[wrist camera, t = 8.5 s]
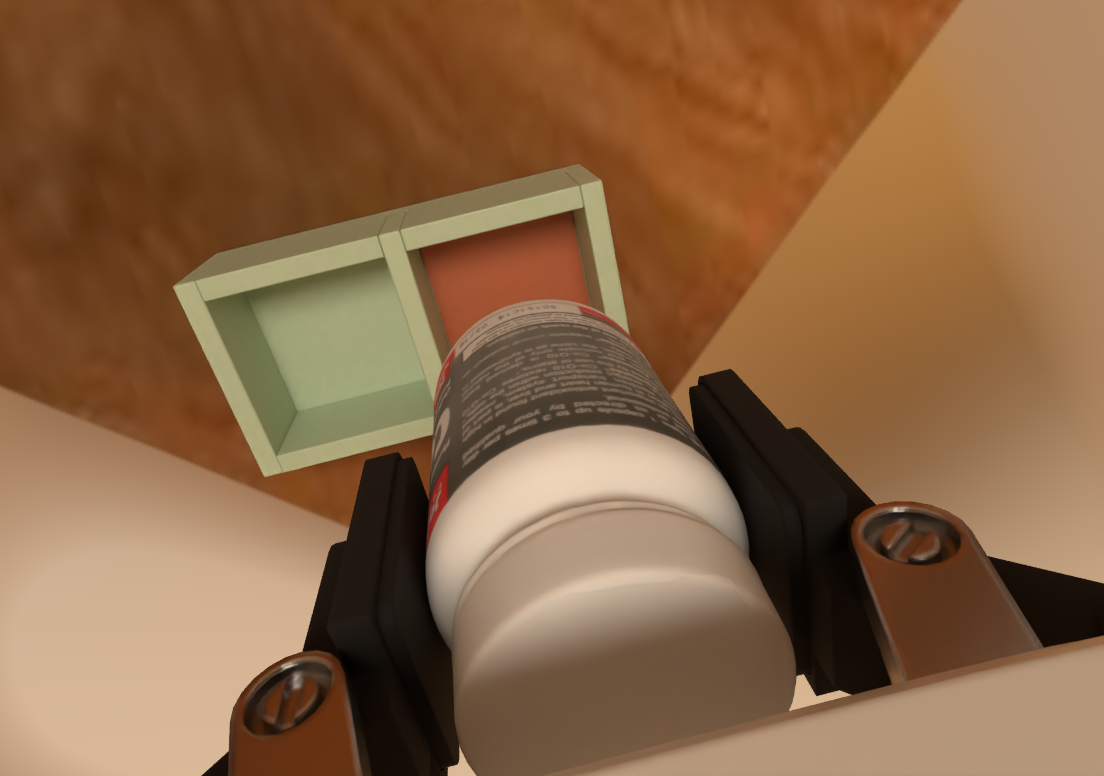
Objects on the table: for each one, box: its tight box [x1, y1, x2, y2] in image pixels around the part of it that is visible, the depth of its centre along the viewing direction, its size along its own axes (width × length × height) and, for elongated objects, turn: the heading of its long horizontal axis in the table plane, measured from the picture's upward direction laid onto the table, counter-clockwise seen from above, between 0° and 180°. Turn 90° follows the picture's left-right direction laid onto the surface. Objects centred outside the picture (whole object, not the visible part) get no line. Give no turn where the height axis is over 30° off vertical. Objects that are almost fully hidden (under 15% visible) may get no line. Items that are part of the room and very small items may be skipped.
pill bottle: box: [425, 299, 796, 776], centre depth 12 cm, size 5×5×8 cm
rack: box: [173, 164, 630, 477], centre depth 28 cm, size 15×8×5 cm, turn 102°
